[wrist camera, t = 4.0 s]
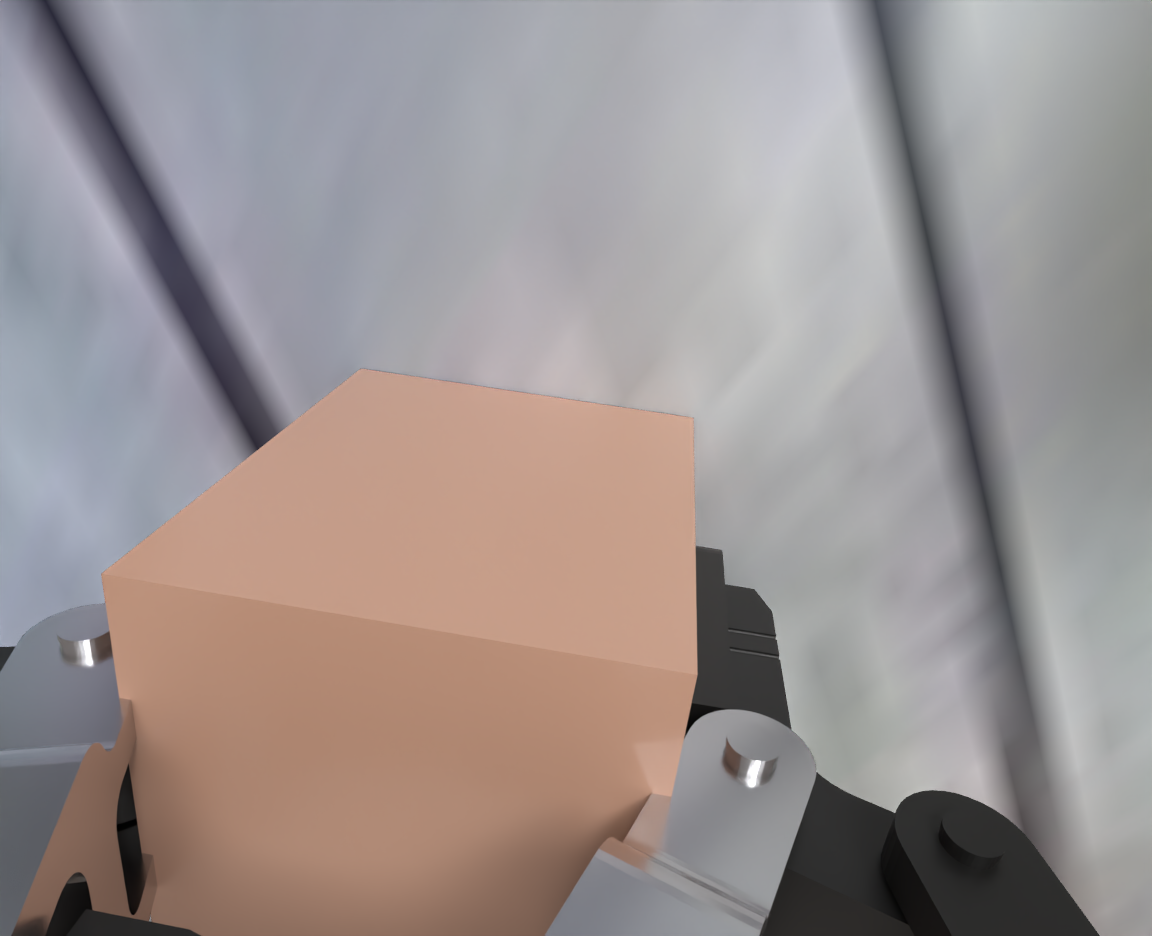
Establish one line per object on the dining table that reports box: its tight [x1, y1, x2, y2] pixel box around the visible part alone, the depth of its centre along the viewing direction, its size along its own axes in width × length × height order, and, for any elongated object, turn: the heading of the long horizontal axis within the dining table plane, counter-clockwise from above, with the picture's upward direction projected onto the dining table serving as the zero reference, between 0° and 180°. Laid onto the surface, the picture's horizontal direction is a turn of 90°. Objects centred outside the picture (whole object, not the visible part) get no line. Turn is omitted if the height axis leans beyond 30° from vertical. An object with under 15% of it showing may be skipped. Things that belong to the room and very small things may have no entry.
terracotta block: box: [101, 369, 698, 936], centre depth 10 cm, size 5×5×6 cm
